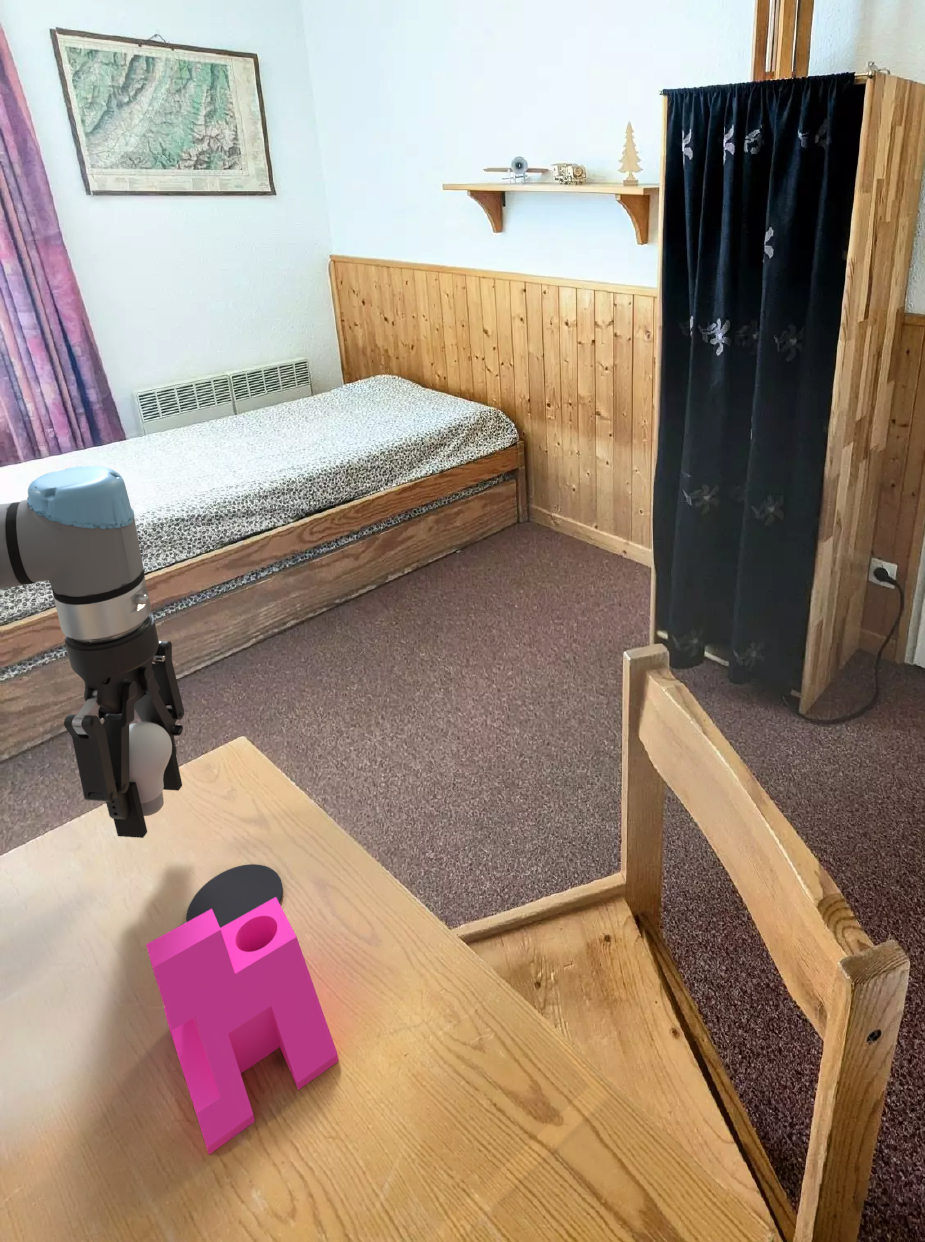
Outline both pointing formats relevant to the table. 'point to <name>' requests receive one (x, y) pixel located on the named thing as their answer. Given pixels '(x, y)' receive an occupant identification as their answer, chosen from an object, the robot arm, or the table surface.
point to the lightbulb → (148, 763)
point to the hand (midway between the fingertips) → (151, 809)
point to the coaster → (236, 893)
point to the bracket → (238, 1010)
